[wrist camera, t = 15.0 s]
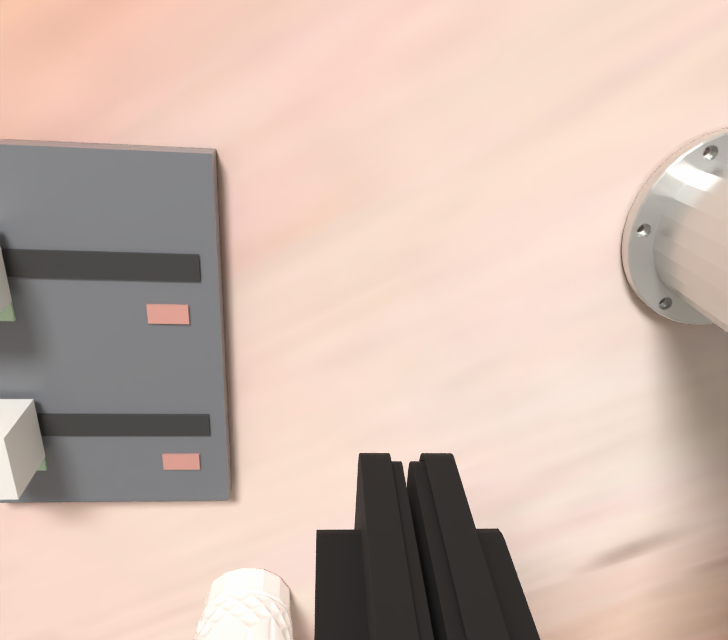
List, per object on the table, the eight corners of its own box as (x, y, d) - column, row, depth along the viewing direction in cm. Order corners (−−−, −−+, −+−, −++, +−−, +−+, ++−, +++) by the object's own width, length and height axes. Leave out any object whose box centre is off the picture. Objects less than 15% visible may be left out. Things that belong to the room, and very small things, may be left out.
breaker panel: (215, 148, 33) (211, 154, 32) (231, 485, 44) (228, 502, 42) (-91, 134, 32) (-111, 140, 30) (0, 487, 42) (-12, 504, 41)
